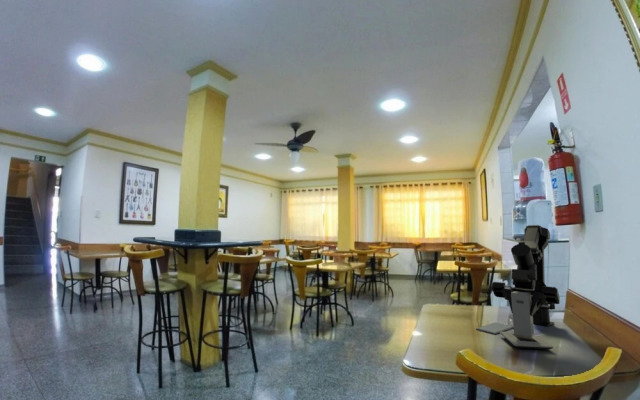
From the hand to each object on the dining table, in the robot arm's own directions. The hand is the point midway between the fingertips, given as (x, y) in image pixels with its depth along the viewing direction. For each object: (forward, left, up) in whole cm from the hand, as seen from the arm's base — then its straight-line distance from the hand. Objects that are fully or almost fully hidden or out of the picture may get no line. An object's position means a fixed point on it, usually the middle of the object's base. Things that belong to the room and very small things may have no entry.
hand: (521, 313), depth 100 cm
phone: (-10, -15, -11) cm, 21 cm away
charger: (-1, 0, -7) cm, 7 cm away
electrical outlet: (-2, -1, -11) cm, 11 cm away
